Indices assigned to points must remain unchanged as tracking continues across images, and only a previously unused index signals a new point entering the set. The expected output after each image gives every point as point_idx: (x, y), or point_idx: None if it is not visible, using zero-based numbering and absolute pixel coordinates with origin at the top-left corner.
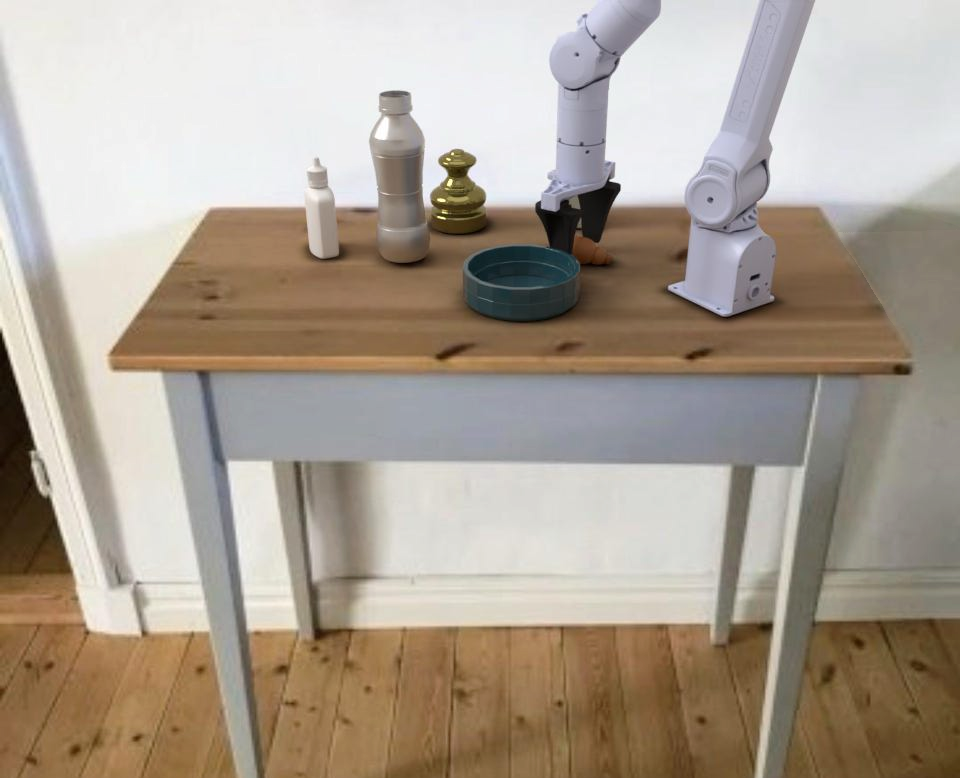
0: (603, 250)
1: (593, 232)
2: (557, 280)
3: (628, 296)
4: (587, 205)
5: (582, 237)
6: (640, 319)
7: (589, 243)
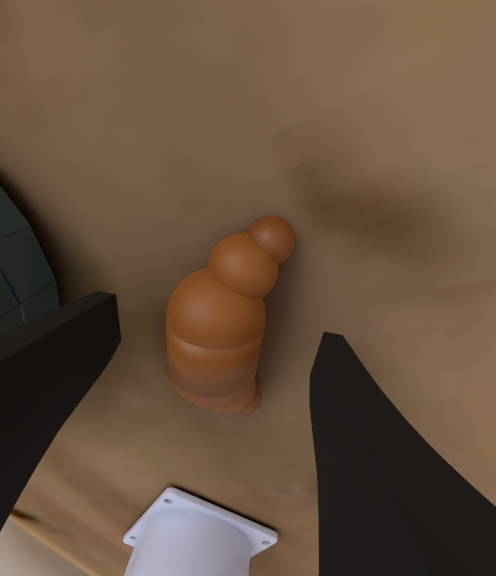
0: (222, 413)
1: (317, 390)
2: None
3: (108, 439)
4: (350, 480)
5: (208, 388)
6: (42, 461)
7: (192, 404)
